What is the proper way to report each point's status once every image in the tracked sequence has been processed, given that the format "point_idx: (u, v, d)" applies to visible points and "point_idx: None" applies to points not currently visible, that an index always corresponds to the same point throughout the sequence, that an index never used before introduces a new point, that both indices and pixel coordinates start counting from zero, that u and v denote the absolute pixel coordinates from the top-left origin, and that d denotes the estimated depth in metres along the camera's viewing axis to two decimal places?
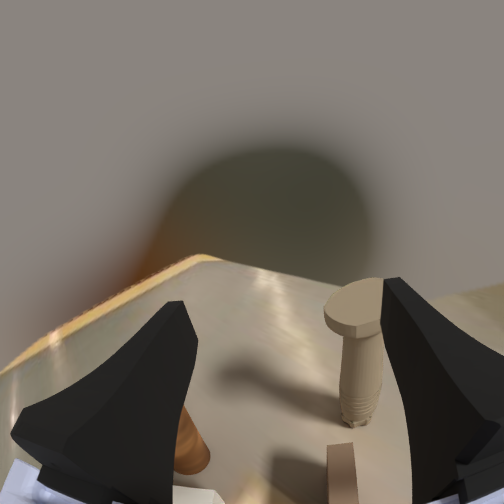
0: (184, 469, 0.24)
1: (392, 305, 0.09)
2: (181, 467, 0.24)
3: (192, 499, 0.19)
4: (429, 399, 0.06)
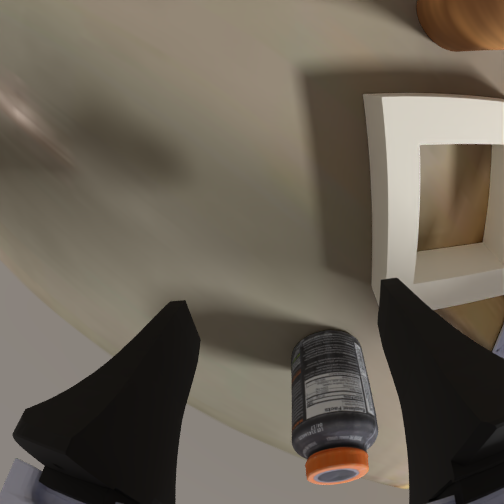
0: (470, 50, 0.12)
1: (389, 305, 0.09)
2: (471, 50, 0.11)
3: None
4: (426, 400, 0.06)
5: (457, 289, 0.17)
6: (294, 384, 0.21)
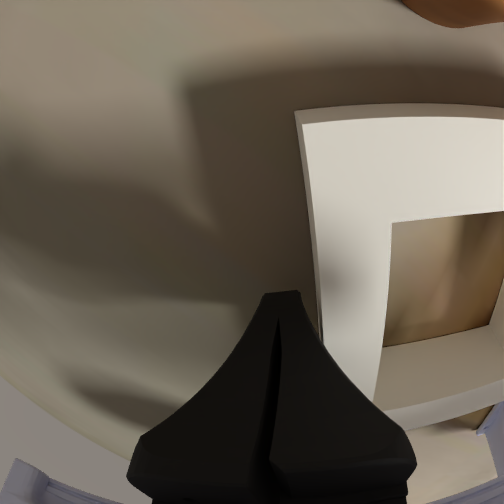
0: (481, 24, 0.05)
1: None
2: (483, 23, 0.05)
3: None
4: None
5: (440, 409, 0.11)
6: None
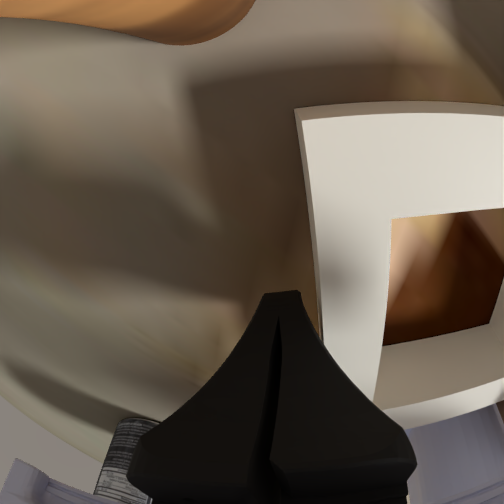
0: (203, 31, 0.07)
1: None
2: (194, 32, 0.07)
3: None
4: None
5: (440, 408, 0.11)
6: (103, 465, 0.17)
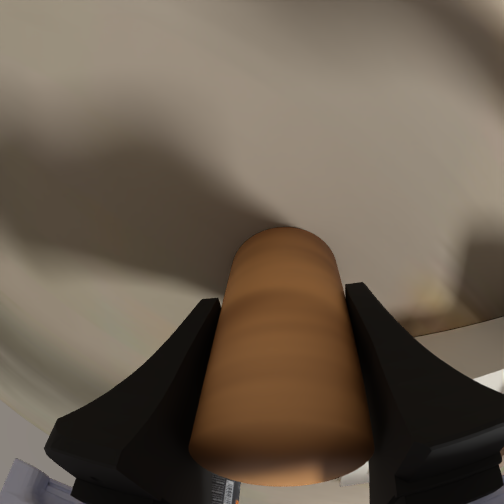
0: None
1: (351, 311, 0.09)
2: None
3: None
4: (378, 410, 0.06)
5: None
6: None
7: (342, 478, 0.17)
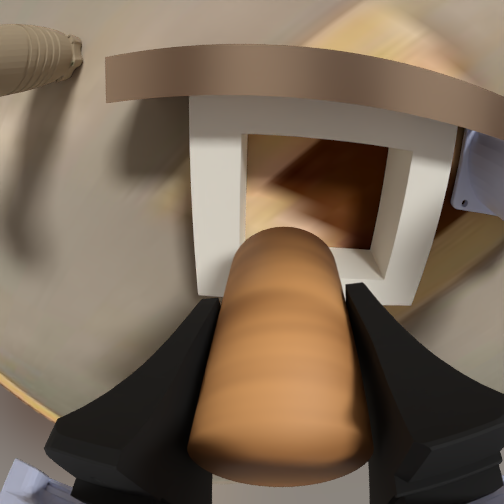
0: None
1: (351, 311, 0.09)
2: None
3: (214, 131, 0.14)
4: (378, 410, 0.06)
5: (415, 227, 0.15)
6: None
7: None
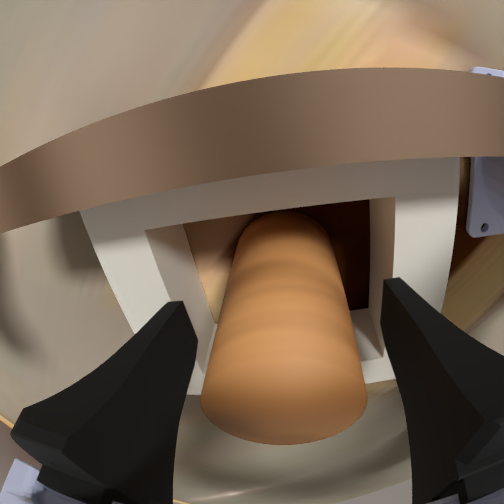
0: None
1: (392, 305, 0.09)
2: None
3: (114, 232, 0.10)
4: (429, 399, 0.06)
5: None
6: None
7: (382, 380, 0.13)
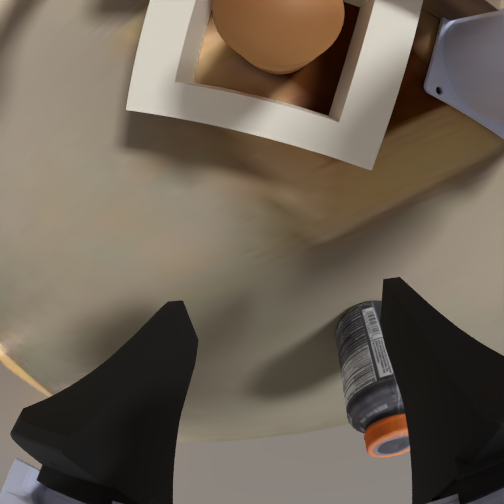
0: (276, 73, 0.15)
1: (392, 305, 0.09)
2: (273, 72, 0.15)
3: None
4: (429, 399, 0.06)
5: (377, 67, 0.12)
6: None
7: (332, 155, 0.15)
